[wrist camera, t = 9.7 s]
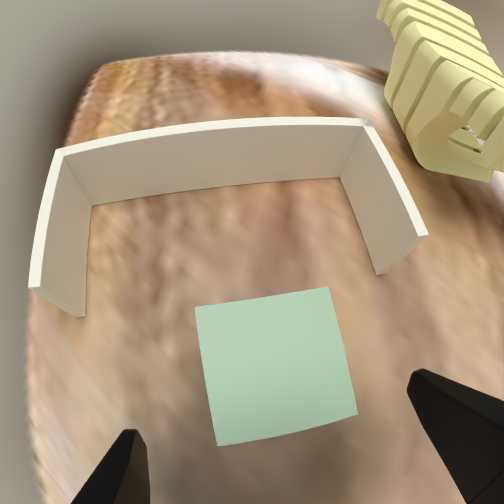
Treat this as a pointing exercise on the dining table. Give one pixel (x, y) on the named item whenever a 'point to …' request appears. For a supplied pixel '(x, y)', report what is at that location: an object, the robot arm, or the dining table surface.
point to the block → (274, 365)
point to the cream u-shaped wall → (216, 185)
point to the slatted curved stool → (444, 88)
